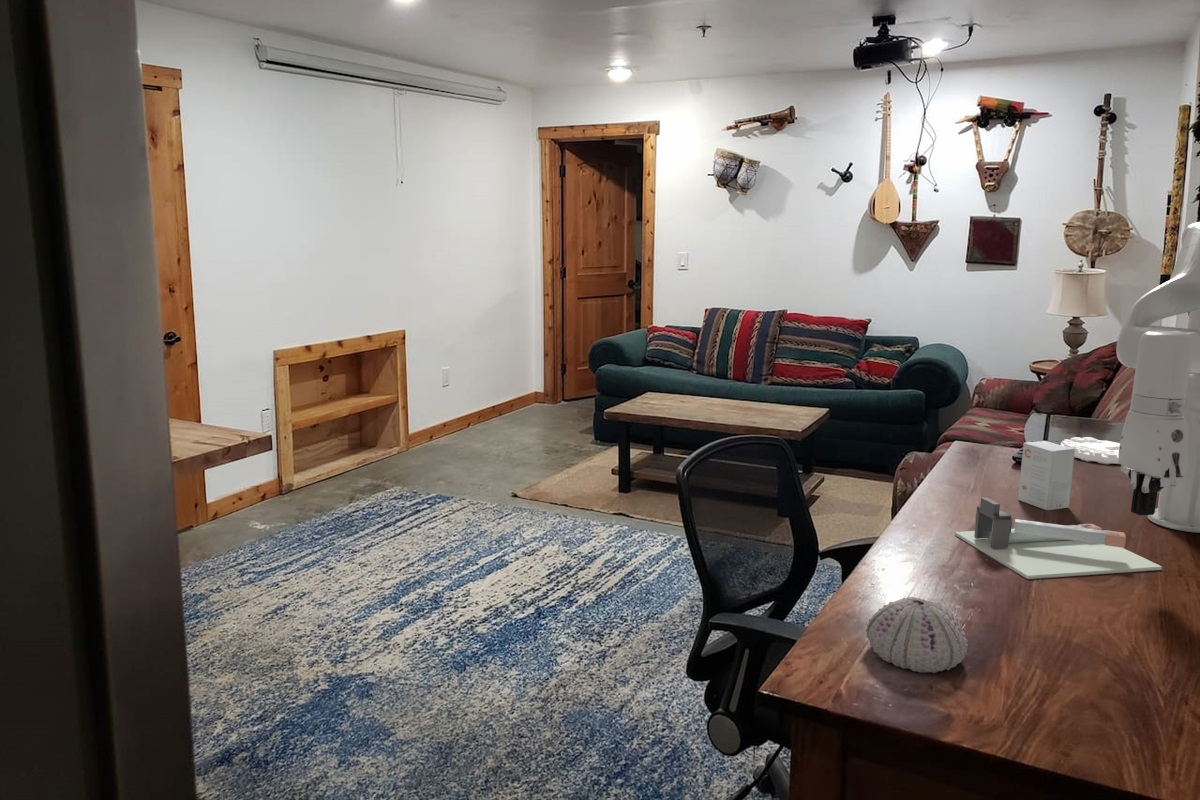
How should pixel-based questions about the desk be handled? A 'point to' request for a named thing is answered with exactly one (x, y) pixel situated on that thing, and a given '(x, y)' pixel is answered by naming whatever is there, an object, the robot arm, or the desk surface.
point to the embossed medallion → (1093, 449)
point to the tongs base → (1023, 537)
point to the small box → (1046, 475)
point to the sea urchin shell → (917, 635)
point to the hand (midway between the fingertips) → (1142, 513)
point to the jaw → (1071, 533)
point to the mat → (1061, 557)
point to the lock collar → (992, 515)
